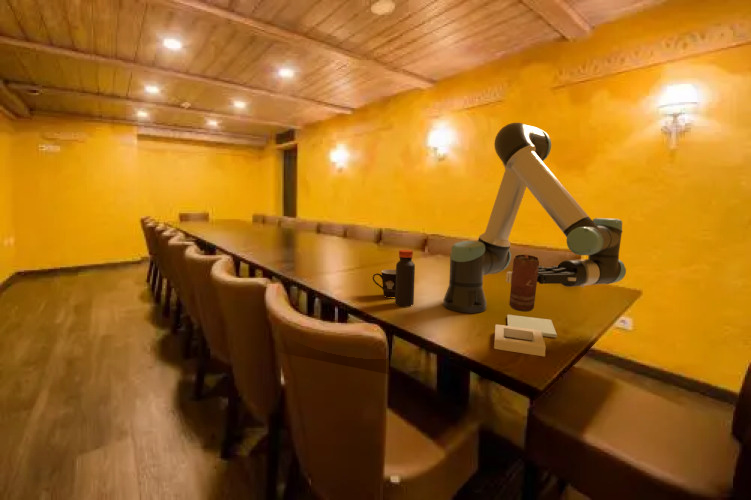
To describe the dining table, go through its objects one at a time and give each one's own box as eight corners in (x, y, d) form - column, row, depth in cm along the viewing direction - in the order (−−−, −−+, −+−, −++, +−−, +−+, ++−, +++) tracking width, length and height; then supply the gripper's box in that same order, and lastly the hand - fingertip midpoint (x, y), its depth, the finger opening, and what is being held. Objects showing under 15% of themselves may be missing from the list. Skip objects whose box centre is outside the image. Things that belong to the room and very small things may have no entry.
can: (529, 302, 94) (534, 253, 91) (536, 312, 88) (543, 260, 85) (506, 302, 95) (510, 253, 91) (512, 311, 89) (517, 260, 85)
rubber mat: (507, 331, 102) (507, 327, 101) (507, 317, 114) (507, 314, 113) (556, 337, 97) (556, 334, 97) (550, 322, 109) (551, 319, 109)
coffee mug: (406, 296, 137) (407, 271, 136) (393, 300, 131) (393, 275, 129) (384, 290, 145) (385, 267, 143) (370, 294, 138) (371, 270, 137)
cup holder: (494, 348, 89) (494, 339, 89) (495, 332, 100) (495, 324, 100) (544, 356, 85) (545, 347, 85) (540, 338, 96) (540, 330, 96)
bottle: (411, 308, 122) (413, 252, 119) (393, 305, 124) (394, 251, 121) (415, 302, 128) (417, 250, 125) (397, 300, 130) (399, 248, 128)
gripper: (596, 291, 93) (525, 298, 85) (556, 280, 105) (491, 285, 98) (599, 264, 92) (528, 268, 84) (558, 256, 104) (493, 259, 97)
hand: (508, 277), depth 91 cm, fingers closed on can
